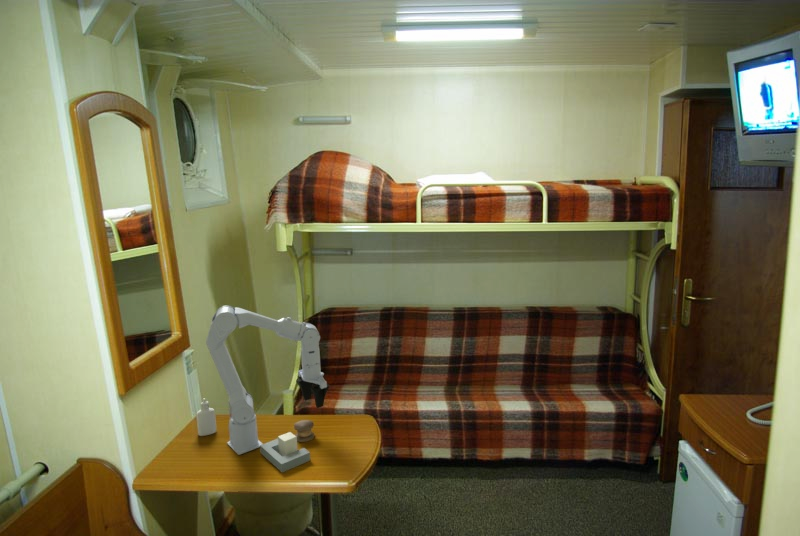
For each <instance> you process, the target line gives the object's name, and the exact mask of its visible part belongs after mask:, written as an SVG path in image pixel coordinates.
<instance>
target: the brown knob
mask: <svg viewBox="0 0 800 536" xmlns="http://www.w3.org/2000/svg"><path fill="white" fill-rule="evenodd" d="M314 426H315V425H314V421H313V420H311V419H301V420H299V421H296V422H295V423H294V424H293V427H294V430H295V431H296V432H297V433H295V434H294V435H295V436H297V443H307V442H310V441H312V440H313V439H315V433H314V431H312V429H313V428H314Z"/></svg>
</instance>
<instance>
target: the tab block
mask: <svg viewBox="0 0 800 536" xmlns="http://www.w3.org/2000/svg"><path fill="white" fill-rule="evenodd" d="M295 435H296V434H294V433H292V432H291V431H287V433H284V434H280V435H278V436H277V439H278V446H279V452H278V453H279V454H280V455H281V456H282V457H283V456H285V455H287V454H290V453H292V452H295V451H297V450H298V441H297V436H295Z"/></svg>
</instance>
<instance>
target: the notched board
mask: <svg viewBox="0 0 800 536" xmlns="http://www.w3.org/2000/svg"><path fill="white" fill-rule="evenodd" d="M259 448H260V449H259V451H260V454H261V455H262V456H263V457H264V458H266V460H268V461H269V462H270V463H271V464H272V466H274V467H275V468H276V469H278V470H279V472H281V473H284V472H287V471H289V470H292V469H293V468H296V467H298V466H300V465H303V464H306V463H307V462H310V461H311V452H310V451H309V450H308V449H306V448H305V447H302V448H300V449H297V451H295V452H292V453H290V454H287V455H285V456H283V457H282V456H281V455H280V454H279V446H278V438H276V439H273V440H270V441H268V442H265V443H263V444H262V445H260V447H259Z"/></svg>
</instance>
